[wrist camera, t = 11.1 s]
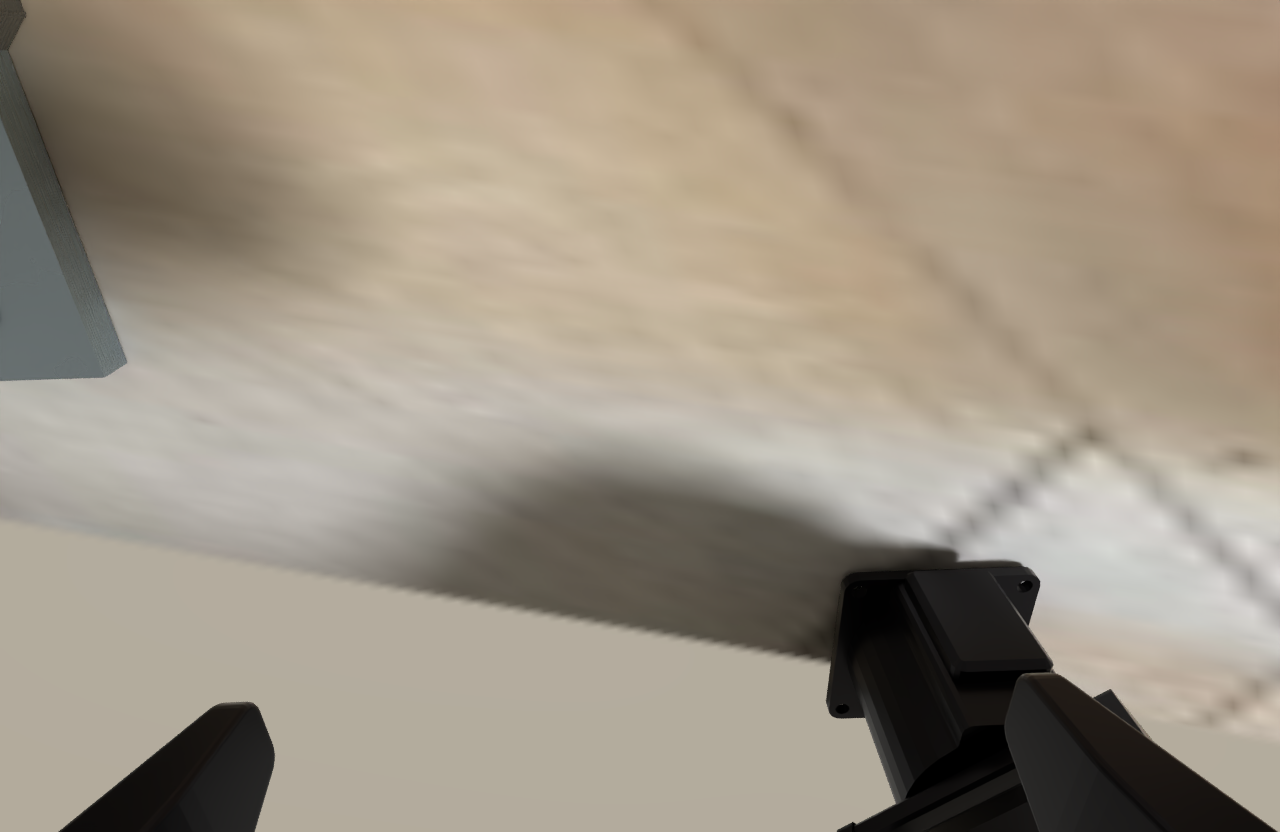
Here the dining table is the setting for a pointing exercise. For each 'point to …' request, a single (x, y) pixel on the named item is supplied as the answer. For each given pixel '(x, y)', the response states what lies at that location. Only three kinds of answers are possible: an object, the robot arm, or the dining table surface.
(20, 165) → the hinge leaf
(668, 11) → the dining table surface
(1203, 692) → the dining table surface
